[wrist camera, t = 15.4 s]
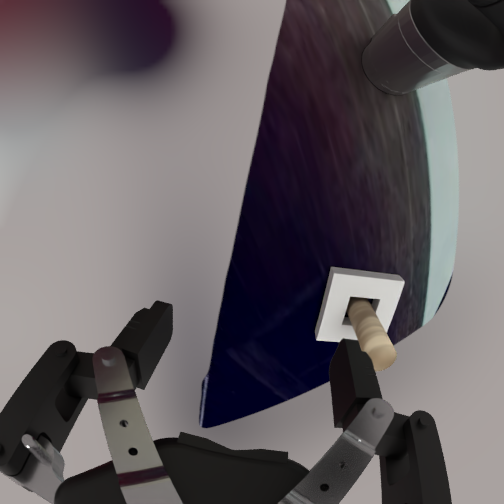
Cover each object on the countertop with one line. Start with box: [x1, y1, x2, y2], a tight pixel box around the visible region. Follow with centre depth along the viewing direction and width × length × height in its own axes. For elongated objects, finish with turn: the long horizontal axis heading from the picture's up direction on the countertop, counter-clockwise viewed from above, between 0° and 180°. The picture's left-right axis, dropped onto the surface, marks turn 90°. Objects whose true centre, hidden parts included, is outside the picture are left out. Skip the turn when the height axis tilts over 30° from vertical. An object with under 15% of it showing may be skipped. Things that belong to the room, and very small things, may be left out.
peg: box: [346, 297, 397, 371], centre depth 36 cm, size 4×4×14 cm
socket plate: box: [315, 267, 405, 342], centre depth 42 cm, size 12×12×2 cm
